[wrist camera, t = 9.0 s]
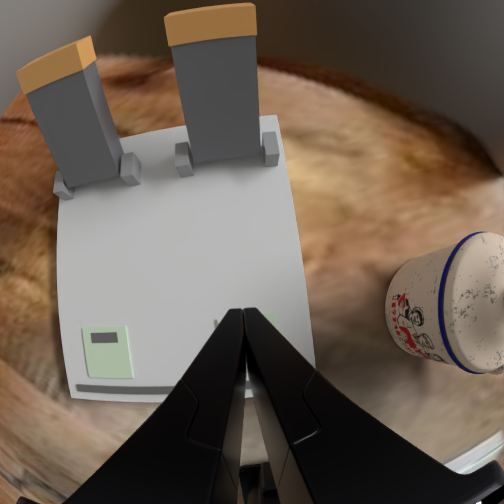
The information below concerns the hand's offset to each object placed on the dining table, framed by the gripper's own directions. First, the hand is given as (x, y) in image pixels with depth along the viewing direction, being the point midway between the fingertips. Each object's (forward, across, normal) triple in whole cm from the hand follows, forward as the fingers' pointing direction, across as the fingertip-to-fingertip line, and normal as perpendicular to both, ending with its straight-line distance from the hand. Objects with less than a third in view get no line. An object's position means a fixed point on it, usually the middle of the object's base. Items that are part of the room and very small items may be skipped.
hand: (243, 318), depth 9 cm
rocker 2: (+17, 0, 0) cm, 17 cm away
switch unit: (+13, -5, -6) cm, 16 cm away
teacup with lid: (+8, +16, -11) cm, 21 cm away
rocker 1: (+17, -11, -1) cm, 20 cm away
